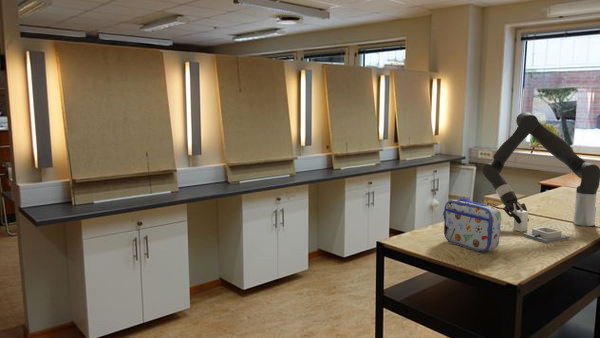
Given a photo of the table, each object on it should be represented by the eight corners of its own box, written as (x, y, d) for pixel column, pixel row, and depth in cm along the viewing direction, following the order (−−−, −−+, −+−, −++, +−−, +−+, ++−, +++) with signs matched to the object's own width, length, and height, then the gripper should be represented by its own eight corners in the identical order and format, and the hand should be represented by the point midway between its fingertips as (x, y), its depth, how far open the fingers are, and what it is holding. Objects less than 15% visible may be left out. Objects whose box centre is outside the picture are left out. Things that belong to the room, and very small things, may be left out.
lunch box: (437, 240, 222) (439, 195, 218) (452, 236, 227) (454, 193, 224) (487, 256, 199) (490, 206, 195) (502, 252, 204) (505, 203, 201)
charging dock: (546, 231, 234) (546, 224, 233) (569, 238, 222) (570, 231, 222) (523, 235, 228) (523, 228, 227) (546, 243, 216) (546, 235, 215)
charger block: (519, 228, 241) (521, 207, 239) (527, 230, 237) (528, 209, 235) (513, 229, 239) (514, 208, 237) (520, 231, 235) (522, 210, 233)
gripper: (500, 191, 239) (518, 220, 230) (520, 189, 244) (538, 216, 235) (492, 199, 244) (509, 227, 235) (511, 197, 250) (529, 224, 241)
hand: (523, 222), depth 235 cm, fingers closed on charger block, 4 cm apart
